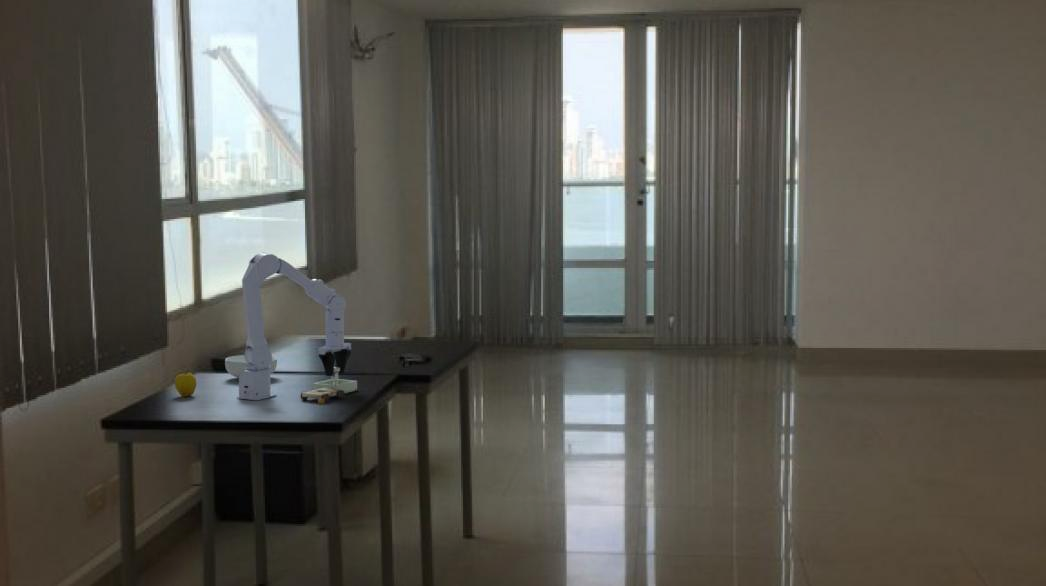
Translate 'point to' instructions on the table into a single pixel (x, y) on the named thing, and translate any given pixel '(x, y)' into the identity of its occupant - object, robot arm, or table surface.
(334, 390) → the toy car
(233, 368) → the cereal bowl
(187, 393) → the apple
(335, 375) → the stop pin
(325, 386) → the tray
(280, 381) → the table surface
